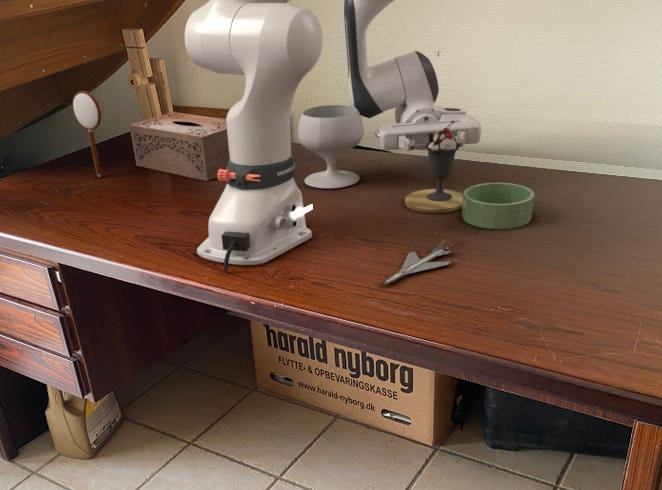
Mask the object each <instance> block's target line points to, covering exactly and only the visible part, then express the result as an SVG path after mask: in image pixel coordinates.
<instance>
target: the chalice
mask: <svg viewBox="0 0 662 490" xmlns="http://www.w3.org/2000/svg"><path fill="white" fill-rule="evenodd" d="M364 129H365V128H364V123H363V118H362V116H361V115H360V113H359V111H358V110H357V109H356V108H355V107H352V106H351V105H344V104H329V105H328V104H327V105H318V106H314V107H310V108H307V109H306V110H304V111H303V112H302V113H301V116H300V118H299V121H298V128H297V139H298V140H299V143H300V145H302V146H303V148H305V149H307V151H310V152H312V153H314V154H316V155H319V156H320V157H321V158H323V159H324V161H325V162H326V166H327V167H326V170H324V171H323V170H322V171H318V172H314V173H311V174H309V175H307V177H305V178H304V183H305V185H307V186H310V187H313V188H319V189H339V188H344V187H345V188H346V187H348V186H352V185H354V184H357V183H358V182H359V181H360V176H359V175H358V174H356V173H355V172H352V171H348V170H339V169H337V161H338V160H339V158H340V157H341V156H343V155H344V154H345V153H347V152H348V151H350V150H353V148H355V147H356V146H357V145H359V144H360V142H361V141H362V140H363V137H364V133H365V131H364Z"/></svg>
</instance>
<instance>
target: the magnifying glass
mask: <svg viewBox="0 0 662 490" xmlns="http://www.w3.org/2000/svg"><path fill="white" fill-rule="evenodd" d="M71 108H72V114H73V117H74V118H75V121H76V122H77V123H78V124H79V125H80V126H81V127H82V128H84V129H85V130H88V131H87V134H88V139H89V145H90V148H91V149H90V150H91V153H92V159H93V164H94V169H95V174H96V175H97V177H98V178H101V177H102V169H101V164H100V159H99V154H98V148H97V145H96V139H95V132H94V131H93V130H95V129H97V128H98V127H99V126H100V123H101V122H102V111H101V107H100V104H99V101H97V99H96V97H94V95H93V94H91V93H90V92H89V91H86V90H80V91H77V92H76V93H75V94H74V95H73V96H72V100H71Z"/></svg>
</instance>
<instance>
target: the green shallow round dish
mask: <svg viewBox="0 0 662 490" xmlns="http://www.w3.org/2000/svg"><path fill="white" fill-rule="evenodd" d="M462 194H463V205H462V208H461V218H462V220H463V221H464V222H465V223H467V224H469V225H471V226H474V227H478V228H483V229H488V230H489V229H490V230H508V229H514V228H520V227H523V226H525V225H527V224H529V223H530V222H531V220H532V217H533V209H534V203H535V201H534V199H535V192H534V191H533V190H532V189H531V188H529V187H527V186H524V185H520V184H518V183H517V184H516V183H511V182H510V183H509V182H486V183H479V184H475V185H471V186H469V187H467V188H465V189H464V192H463V193H462Z"/></svg>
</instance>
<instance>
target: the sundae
mask: <svg viewBox="0 0 662 490" xmlns="http://www.w3.org/2000/svg"><path fill="white" fill-rule="evenodd" d="M452 122H453V123H455V121H452ZM452 122H451V123H452ZM451 123H450V124H451ZM453 123H452V124H453ZM450 124H449V125H450ZM452 124H451V125H452ZM449 125H448V126H449ZM451 125H450V126H451ZM448 126H447V127H448ZM450 126H449V129H450ZM449 129H448V128H444V129H443V131H439V132H437V133H436V134H435V135H434V134H431V133H429V143H428V144H427V145H425V146H424V147H425V148H426V149H427V150H426V151H427V157H428V167H429V174H430V175H431V177H433V179H435V180H436V182H437V183H436V188H435V189H436V191H435V192H434V193H430V194H428V195H427V198H428V199H429V200H433V201H446V200H449V199H451V198H452V195H451V194H449V193H445V192H444V190H443V189H444V181H445V180H446V179H448V178H449V177H450V175H451V174H452V171H453V167H454V161H455V156H456V152H457V151H458V150H460V148H461V147H460V144H459V143H458V144H457V143H456V142H455V140H454V139H453V138H452V133H451V132H450V131H449Z"/></svg>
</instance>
